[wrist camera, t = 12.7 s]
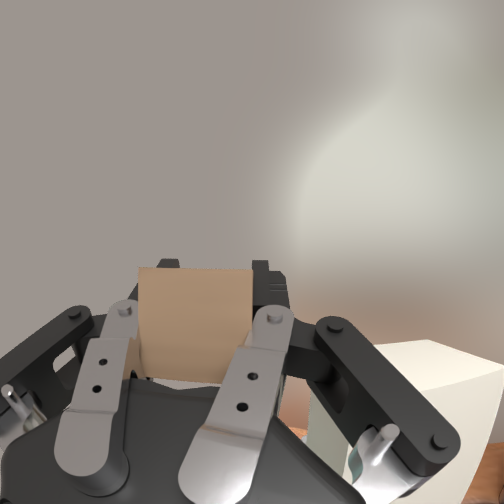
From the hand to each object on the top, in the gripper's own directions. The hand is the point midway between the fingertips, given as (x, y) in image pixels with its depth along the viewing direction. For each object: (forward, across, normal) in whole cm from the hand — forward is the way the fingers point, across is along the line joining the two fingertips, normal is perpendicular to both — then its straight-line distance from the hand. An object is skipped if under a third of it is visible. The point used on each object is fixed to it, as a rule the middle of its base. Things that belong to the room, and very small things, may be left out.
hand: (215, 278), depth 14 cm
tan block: (+4, 0, +6) cm, 7 cm away
